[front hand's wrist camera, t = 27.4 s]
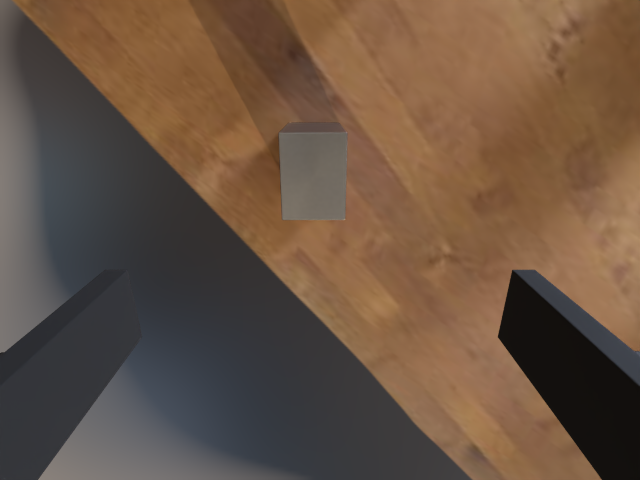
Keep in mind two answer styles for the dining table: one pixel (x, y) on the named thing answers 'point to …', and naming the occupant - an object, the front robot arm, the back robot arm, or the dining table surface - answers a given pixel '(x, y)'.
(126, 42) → the dining table surface
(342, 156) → the grey metallic rectangular block
